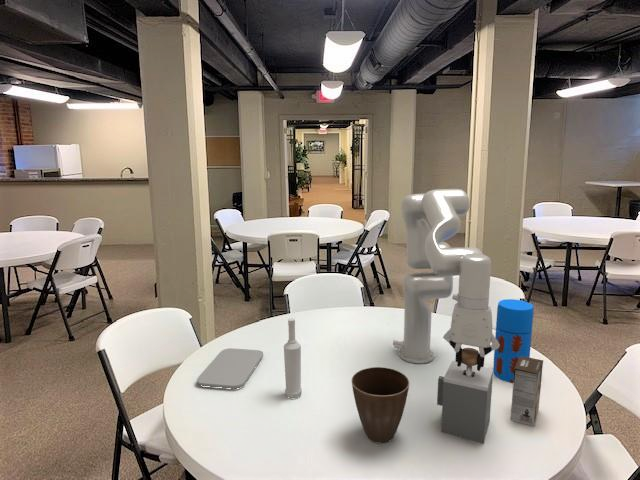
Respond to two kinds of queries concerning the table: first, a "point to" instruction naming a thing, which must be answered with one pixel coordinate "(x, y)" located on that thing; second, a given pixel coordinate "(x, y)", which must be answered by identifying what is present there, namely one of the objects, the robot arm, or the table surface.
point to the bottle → (292, 363)
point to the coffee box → (526, 390)
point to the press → (465, 402)
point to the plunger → (469, 359)
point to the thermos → (512, 336)
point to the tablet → (230, 368)
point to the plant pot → (380, 401)
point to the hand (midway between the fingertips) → (469, 365)
